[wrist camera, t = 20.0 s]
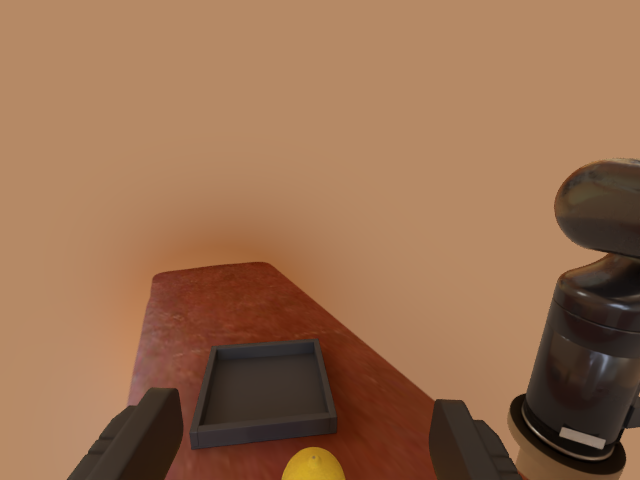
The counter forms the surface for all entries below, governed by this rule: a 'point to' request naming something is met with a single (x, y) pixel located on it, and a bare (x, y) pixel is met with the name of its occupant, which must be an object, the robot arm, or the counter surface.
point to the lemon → (313, 466)
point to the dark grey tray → (263, 394)
